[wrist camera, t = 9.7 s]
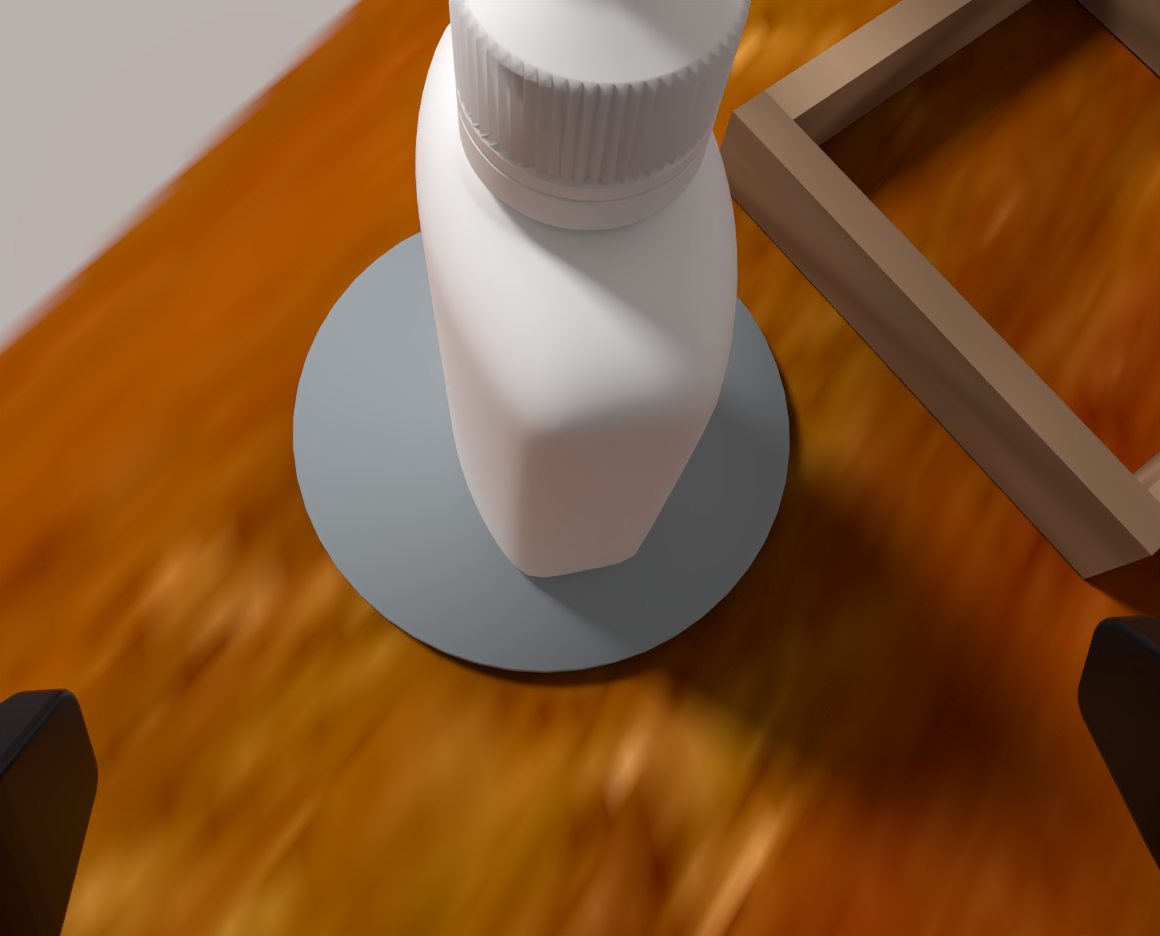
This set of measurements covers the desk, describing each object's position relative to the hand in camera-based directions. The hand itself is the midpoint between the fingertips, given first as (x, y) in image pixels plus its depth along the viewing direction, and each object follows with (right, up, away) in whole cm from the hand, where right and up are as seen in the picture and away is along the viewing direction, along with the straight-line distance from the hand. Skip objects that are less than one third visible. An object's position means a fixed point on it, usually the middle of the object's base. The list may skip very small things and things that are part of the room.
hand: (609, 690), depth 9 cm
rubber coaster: (-1, +3, +10) cm, 10 cm away
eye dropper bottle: (-1, +3, +9) cm, 10 cm away
